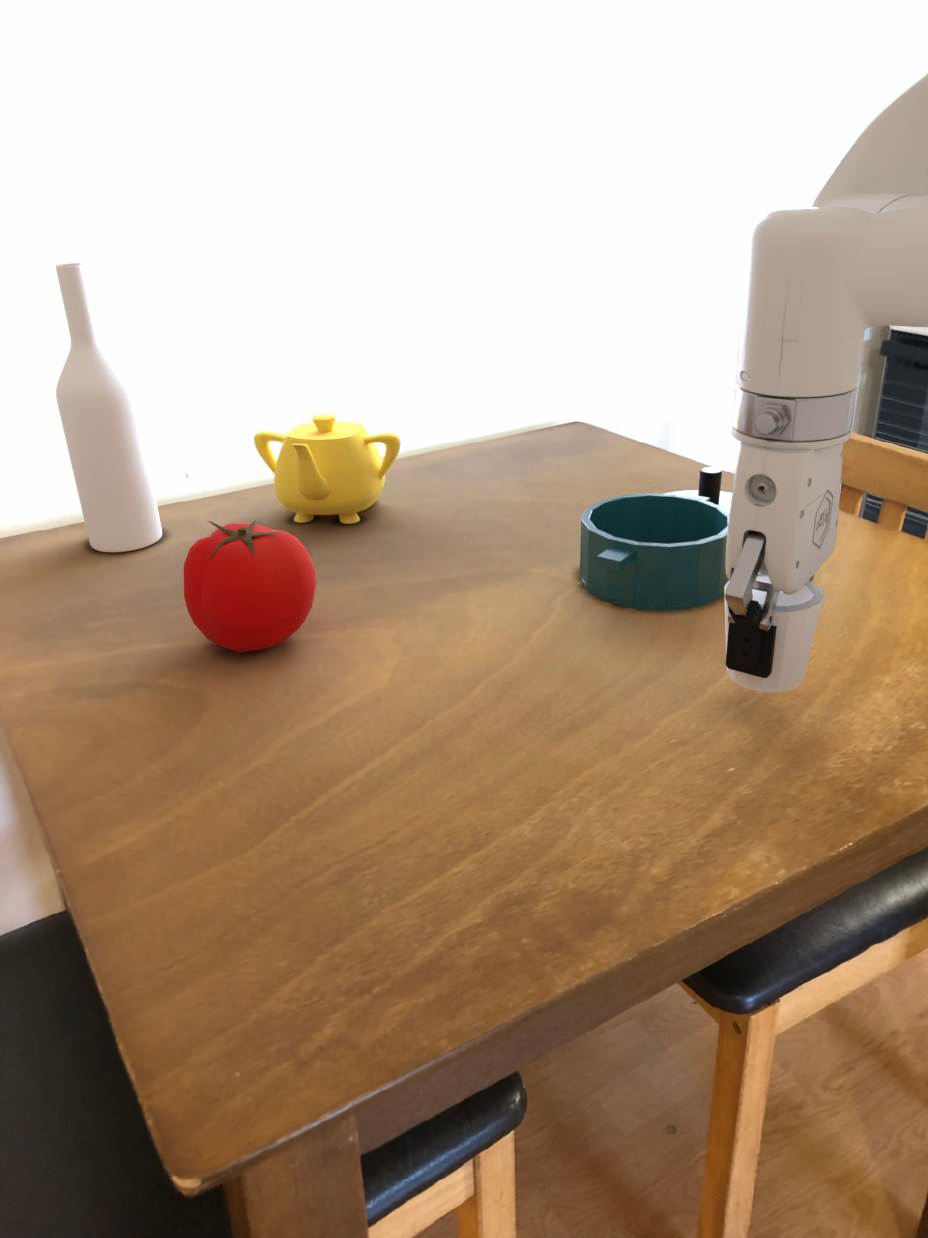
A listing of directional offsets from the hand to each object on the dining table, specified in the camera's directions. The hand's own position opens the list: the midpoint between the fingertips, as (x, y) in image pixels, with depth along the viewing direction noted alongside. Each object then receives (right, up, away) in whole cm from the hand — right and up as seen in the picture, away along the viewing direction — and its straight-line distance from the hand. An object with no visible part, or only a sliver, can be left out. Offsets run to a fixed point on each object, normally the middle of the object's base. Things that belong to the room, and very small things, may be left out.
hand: (767, 647), depth 69 cm
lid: (+5, +14, +38) cm, 41 cm away
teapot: (-39, +14, +44) cm, 60 cm away
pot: (-4, +6, +24) cm, 25 cm away
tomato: (-41, 0, +15) cm, 44 cm away
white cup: (0, -2, +1) cm, 2 cm away
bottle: (-62, +11, +39) cm, 74 cm away
